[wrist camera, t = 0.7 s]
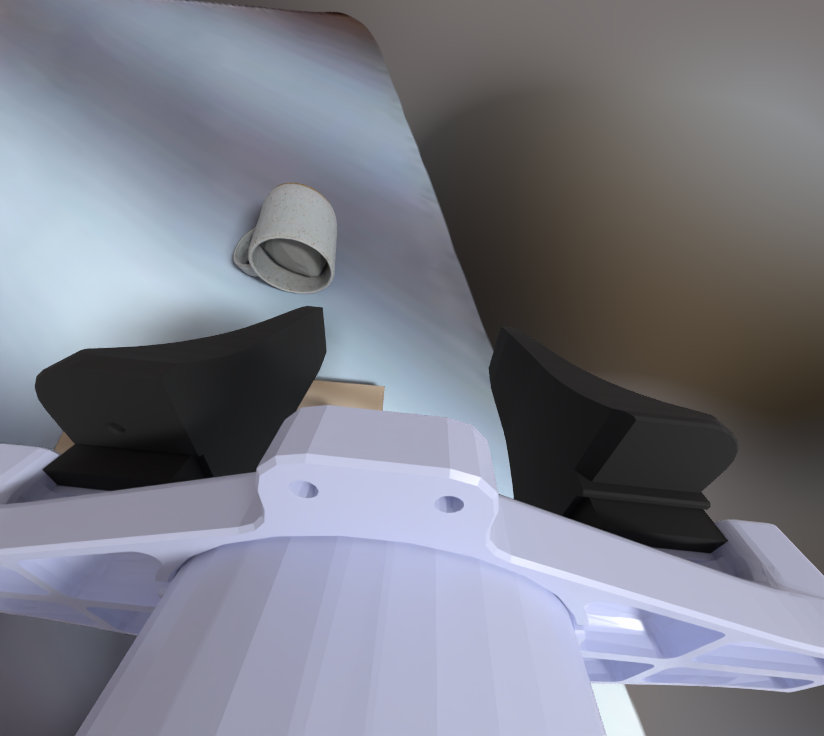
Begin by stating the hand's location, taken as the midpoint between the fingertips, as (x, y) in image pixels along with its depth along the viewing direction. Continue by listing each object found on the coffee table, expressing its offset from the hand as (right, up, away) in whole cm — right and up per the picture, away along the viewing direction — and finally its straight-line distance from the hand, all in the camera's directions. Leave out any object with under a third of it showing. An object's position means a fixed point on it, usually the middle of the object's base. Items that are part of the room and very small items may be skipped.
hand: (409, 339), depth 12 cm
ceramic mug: (-13, +10, +19) cm, 25 cm away
